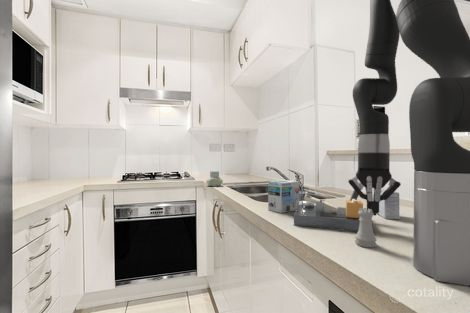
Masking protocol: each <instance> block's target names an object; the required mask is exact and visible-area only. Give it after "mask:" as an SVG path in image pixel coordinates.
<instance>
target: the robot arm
mask: <svg viewBox="0 0 470 313" xmlns="http://www.w3.org/2000/svg"><path fill="white" fill-rule="evenodd" d="M369 12H370V13H369V27H368V28H369V30H368V39H367V44H366V49H365V50H366V51H365V58H364V66H365V67H366V68H367V69H370V70H375V71H376V72H377V75H378V78H377V77H374V78H371V77H370V78H368V77H367V78H366V77H364V78H361V79H358V80H357V81H356V83H355V84H354V86H353V89H352V98H353V103H354V105H355V106H354V107H355V109H356V114H357V117H358V121H359V122H358V123H359V125H358V126H359V128H358V129H359V130H358V131H359V133H358V134H359V136H358V137H359V138H358V142H357V144H358V145H357V146H358V147H357V152H358V153H357V155H358V156H357V172H356V174H355V176H354V177H352V178H350V179H348V180H347V182H348V184H349V185H350V186H351V187H352V189H353V191H354V190H355V191H356V192H357V193H358V197H360V198H361V199H363V200H365V201H366V210H368V209H372V212H373V214H374V215H373V216H377V213H379V202H380V201H381V200H387V199H388V198H389V197H390V196H391V195H392V194H393V193H394V192H397V190H398V188H400V187H401V182H400V181H397V180H396V179H394V178H393V177H392V173H391V171H390V162H391V161H390V158H391V157H390V153H391V152H390V151H391V150H390V146H391V145H390V138H389V137H390V135H389V134H390V132H389V130H390V129H389V128H390V127H389V124H390V121H389V120H390V119H389V115H388V114H387V113H385V112H380V111H378V110H376V109H375V108H374V106H373V105H375V106H376V105H377V106H385V105H389V104H390V103H391V102H393V101H394V99H395V98H396V96H397V93H398V79H397V70H396V69H397V68H396V57H397V52H398V46H399V42H400V38H401V40H402V42H403V44H404V45H405V47H407V49H408V50H410V52H412V53H413V54H414V55H415V56H417V57H418V58H419V59H420V60H421V61H423V62H425V64H427V65H429V66H430V67H431V68H432V69H433V70H434V71H435V72H436V73H437V75H438V76H439V77H431V78H426V79H425V80H423V81H421V82H420V83H419V84H417V85H416V87H415V88H414V90H413V92H412V94H411V97H410V100H409V106H408V108H409V110H408V111H409V112H408V113H409V114H408V115H409V116H408V117H409V119H408V120H409V133H410V136H409V137H410V152H411V158H412V160H413V167H414V168H413V169H414V170H413V241H412V242H413V252H412V254H413V259H412V260H413V261H412V262H413V267H415V269H416V270H417V271H419V272H420V273H423V274H424V275H427V276H428V277H431V278H433V279H434V280H435V281H437V282H444V283H449V284H456V285H462V284H463V286H469V285H470V150H469V149H467V148H465V147H463V146H461V145H460V144H458V142H456V140H455V139H454V134H453V133H470V36H469V33H468V32H467V30H466V27H465V25H464V23H463V21H462V18H461V16H460V13H459V10H458V7H457V4H456V2H455V0H401V1H400V2H399V4H398V6H397V10H396V13H395V10H394V8H393V5H392V2H391V0H369ZM358 182H361V184H362V185H363V186H364V187H363V188H365V193H364V192H363V191H362V190H360V189H359V188H358V186H357V185H358ZM387 184H388V187H387V188H385V189H384V190H385V191H384V193H383V194H382V195H380V194H381V190H382V189H383V188H384V187H386V185H387Z"/></svg>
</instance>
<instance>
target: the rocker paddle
mask: <svg viewBox="0 0 470 313" xmlns="http://www.w3.org/2000/svg"><path fill="white" fill-rule="evenodd" d="M303 200H304V201H310V202H313V203H314V205H316V202H324V207H326V208H328V209H331V210H334V211H336V212H337V209H338V208H337V207H338V205H335V204H332V203H330V202H327V201H322V200H323V199H322V200H319V198H317V197H313V196H312V195H311V194H305V195H304V197H303Z"/></svg>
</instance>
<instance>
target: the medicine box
mask: <svg viewBox="0 0 470 313" xmlns="http://www.w3.org/2000/svg"><path fill="white" fill-rule="evenodd" d="M385 190H386V189H381V194H380V195H382V194H383V193H384V191H385ZM378 214H379V215H378ZM376 215H378V216H380V217H382V218H383V219H386V220H397V219H398V220H400V215H401V214H400V192H397V191H395V192H394V193H393V194H392V195H391V196H390V197H389V198H388V199H387V200H381V201H380V202H379V213H376Z"/></svg>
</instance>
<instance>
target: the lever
mask: <svg viewBox="0 0 470 313" xmlns="http://www.w3.org/2000/svg"><path fill="white" fill-rule="evenodd" d="M357 186H358V188H359V189H360V190H361V191H362V190H363V189H364V188H365V187H364V186H363V185H362V184H361V182H360V181H358V185H357ZM358 198H359V195H358V193H357V192H356V191H355V190H354V189H353V192H352V194H351V196H350V199H349V201H352V199H355V200H356V201H358Z"/></svg>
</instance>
